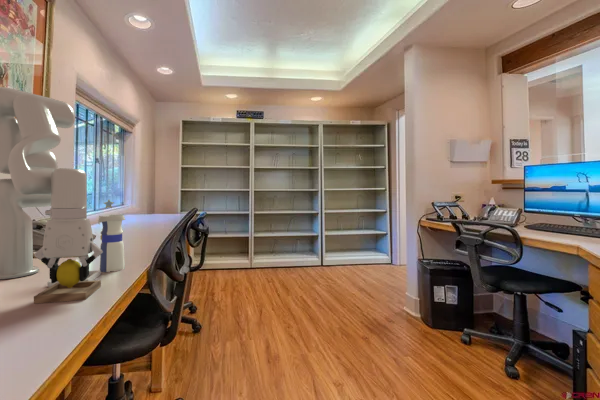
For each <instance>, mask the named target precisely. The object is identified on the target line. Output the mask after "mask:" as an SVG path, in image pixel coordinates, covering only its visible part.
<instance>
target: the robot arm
mask: <svg viewBox="0 0 600 400" xmlns="http://www.w3.org/2000/svg"><path fill="white" fill-rule="evenodd" d="M75 120H76V115H75V111H74V109H73V107H72V106H71V105H70V104H69V103H67V102H66V101H62V100H58V99H56V98H52V97H47V96H43V95H41V94H35V93H31V92H28V91H23V90H19V89H15V88H10V87H3V86H0V174H6V175H10V178H0V280H6V279H7V280H8V279H16V278H21V277H25V276H31V275H34V274H36V273H38V272H39V271H40V268H39V267H38V266H35V265H34V259H33V258H34V257H36V258H37V259H38V260H39V261H41V263H43V264H44V265H45V266H46V267H47V269H49V279H50V280H51V283H55V282H57V281H58V280H57V269H58V267H59V265H60V264H59V263H60V262H59V261H60V260H61V259H66V258H67V259H72V258H78V259H79V263H80V265H81V267H80V281H84V280H85V279H87V278H89V277H90V276H89V271H90V264H91V263H92V262H93V261H95V260H96V259H97V258H98V257H100V254H101V253H102V252H103V251H102V250H101V249H100V246H98V245H97V244H95V243H94V237H93V236H94V235H93V229H92V224H91V220H90V218H88V217H87V214H88V213H87V212H88V211H87V210H88V209H87V206H88V205H87V204H88V203H87V202H88V201H87V200H88V199H87V196H88V195H87V192H88V190H87V188H88V187H87V185H88V183H87V173H86V171H84V170H83V169H79V168H66V167H65V168H59V165H58V159H57V157H56V155H55V154H54V153H53V152H52V151H51V150H52V149H54V148H56V147H58V146H59V145H60V144H61V141H62V139H61V138H62V137H61V135H60V132H59V129H58V128H62V129H70V128H72V127H73V126H74V124H75ZM42 207H43V208H44V207H45V208H46V207H51V208H49V210H45V212H44V215H46V216H48V217H50V219H47V221H46V224H45V227H44V228H45V229H44V233H43V242H42V246H41V247H40V248H39V249H38V250H37V251H36V252H35V253H34V251H33V248H34V246H33V245H34V244H33V242H34V241H33V240H34V239H33V235H34V234H33V233H34V232H33V220H32V217H31V216H30V215H29V214H28V213H27V212H26V211H25V210H24V208H42ZM92 252H93V254H91V253H92ZM89 254H91V256H90V255H89Z"/></svg>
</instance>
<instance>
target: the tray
mask: <svg viewBox="0 0 600 400" xmlns="http://www.w3.org/2000/svg"><path fill="white" fill-rule="evenodd" d="M101 286H102V280H100V279H99V280H98V279H97V280H93V281H81V282H78V283H77V284H75V285H73V286H72V287H71V288H68V287H67V286H63V285H61V284H60V283H56V284H54V285H52V286H49V287H48V288H46V289H44V290H43V291H40V292H39V293H37V294H36V295H34V296H33V304H35V305H36V304H37V305H38V304H48V303H62V302H73V301H85V300H87V299H88V298H89V297H90V296H92V295H93V294H94V293H96V291H97V290H98V289H100V288H101Z"/></svg>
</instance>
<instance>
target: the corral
mask: <svg viewBox="0 0 600 400" xmlns="http://www.w3.org/2000/svg"><path fill="white" fill-rule="evenodd" d="M100 276H101V271H100V269H98V270H89V276H88V277H87V279H85V280H84V281H95V279H97V278H98V277H100ZM46 282H47V283H46V284H47V286H46V287H48V288H49V287H51V286H52V285H54V284H56V283H59V282H58V281H57V282H55V283H51V279H50V280H48V281H46ZM79 282H81V281H79Z"/></svg>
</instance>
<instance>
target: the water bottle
mask: <svg viewBox="0 0 600 400" xmlns="http://www.w3.org/2000/svg"><path fill="white" fill-rule="evenodd" d="M114 203H115V202H114V201H111V200H110V199H108V200H107V201H105V202H103V204H104V205H105V209H106V208H111V209H112V207H113V206H112V205H113V204H114ZM125 220H126V218H125V215H123V214H109V215H108V216H103V215H99V216H98V219H97V221H98V225H101V224H102V229H101V231H100V237H99V238H100V241H101V243H100V246H99V248H100V249H101V250H102V251H103V252H102V253H101V254H100V255H99V270H100V273H101V272H102V273H111V272H110V271H114V272H118V271H123V270H124V269H125V268H126V265H125V248H124V247H125V246H124V245H125V244H124V240H123V234H124V230H123V227H122V226H123V225H122V224H123V221H125ZM122 269H123V270H122Z"/></svg>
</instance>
